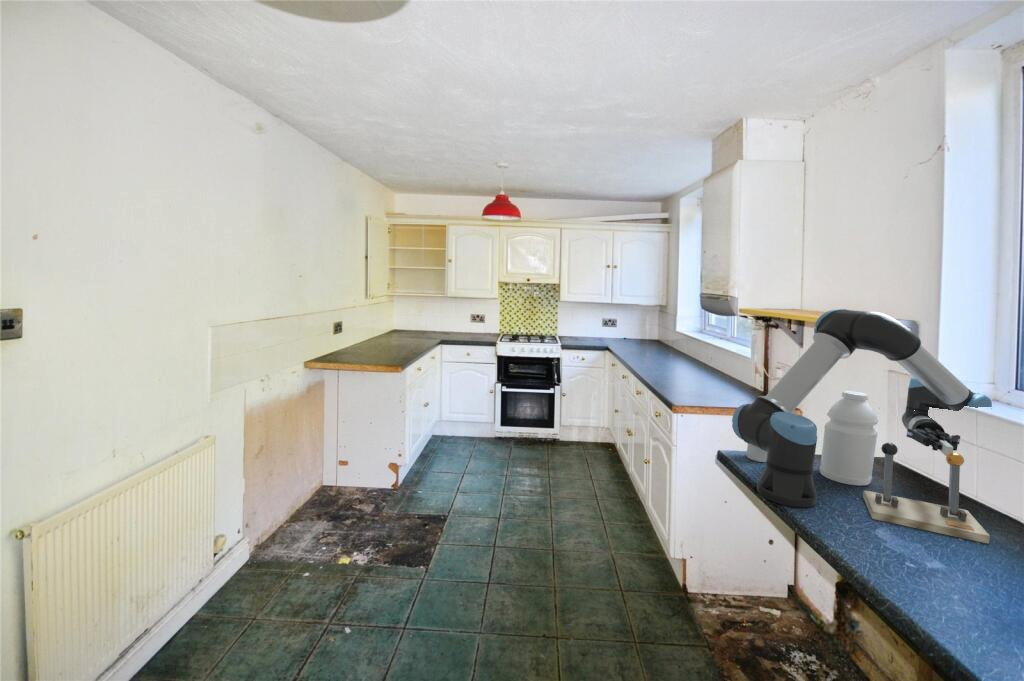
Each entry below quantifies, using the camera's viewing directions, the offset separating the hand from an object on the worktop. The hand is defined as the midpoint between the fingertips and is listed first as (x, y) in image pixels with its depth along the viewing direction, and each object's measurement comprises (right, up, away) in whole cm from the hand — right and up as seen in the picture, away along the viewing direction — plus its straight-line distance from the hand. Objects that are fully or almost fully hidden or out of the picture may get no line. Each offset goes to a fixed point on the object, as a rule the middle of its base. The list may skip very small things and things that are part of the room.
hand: (949, 451), depth 135 cm
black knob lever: (-19, -12, -2) cm, 23 cm away
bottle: (-14, -14, +22) cm, 29 cm away
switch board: (-12, -17, -5) cm, 21 cm away
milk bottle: (-35, -11, +36) cm, 51 cm away
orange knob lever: (-6, -14, -8) cm, 17 cm away
